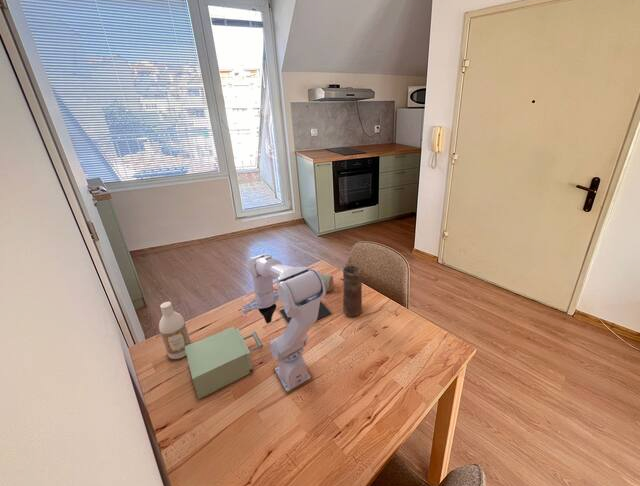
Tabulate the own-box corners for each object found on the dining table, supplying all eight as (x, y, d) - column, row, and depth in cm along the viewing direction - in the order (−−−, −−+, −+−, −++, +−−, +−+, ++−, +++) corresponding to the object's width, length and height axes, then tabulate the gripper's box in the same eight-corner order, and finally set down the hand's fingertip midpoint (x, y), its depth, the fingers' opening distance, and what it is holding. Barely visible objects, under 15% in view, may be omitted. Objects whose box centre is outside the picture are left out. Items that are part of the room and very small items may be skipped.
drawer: (254, 336, 104) (252, 322, 101) (267, 360, 95) (265, 345, 92) (198, 361, 94) (193, 346, 91) (206, 391, 85) (201, 375, 82)
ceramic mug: (330, 295, 127) (330, 280, 124) (312, 293, 128) (311, 279, 125) (334, 281, 137) (334, 267, 134) (317, 279, 137) (317, 265, 134)
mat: (330, 313, 117) (330, 312, 117) (293, 331, 108) (293, 330, 108) (315, 296, 126) (315, 295, 126) (279, 311, 118) (279, 310, 117)
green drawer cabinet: (237, 345, 102) (233, 326, 98) (250, 373, 92) (246, 353, 88) (190, 366, 94) (184, 346, 90) (198, 399, 84) (192, 378, 80)
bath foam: (169, 363, 94) (152, 315, 86) (167, 348, 99) (152, 302, 91) (193, 354, 98) (179, 306, 89) (190, 340, 103) (177, 294, 95)
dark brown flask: (340, 307, 120) (340, 266, 112) (356, 302, 123) (357, 262, 115) (347, 319, 114) (348, 277, 106) (364, 314, 117) (366, 272, 109)
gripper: (280, 274, 99) (283, 305, 105) (236, 290, 91) (242, 322, 97) (289, 285, 94) (292, 317, 100) (243, 303, 86) (249, 336, 92)
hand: (268, 321), depth 98 cm, fingers closed
